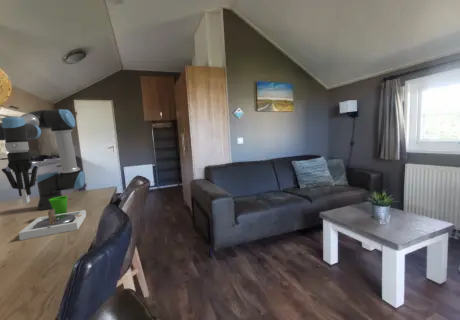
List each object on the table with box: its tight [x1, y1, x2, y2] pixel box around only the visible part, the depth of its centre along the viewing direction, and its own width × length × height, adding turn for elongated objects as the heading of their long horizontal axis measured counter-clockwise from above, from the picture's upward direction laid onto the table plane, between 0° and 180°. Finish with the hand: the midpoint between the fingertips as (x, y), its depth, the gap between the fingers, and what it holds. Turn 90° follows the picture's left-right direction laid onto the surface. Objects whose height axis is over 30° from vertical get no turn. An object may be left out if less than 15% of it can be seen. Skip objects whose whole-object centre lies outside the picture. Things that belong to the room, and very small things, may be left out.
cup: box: [49, 195, 69, 215], centre depth 130 cm, size 9×9×11 cm
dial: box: [36, 209, 75, 229], centre depth 114 cm, size 16×16×8 cm
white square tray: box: [18, 209, 87, 241], centre depth 114 cm, size 22×22×4 cm
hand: (26, 202), depth 104 cm, fingers closed
